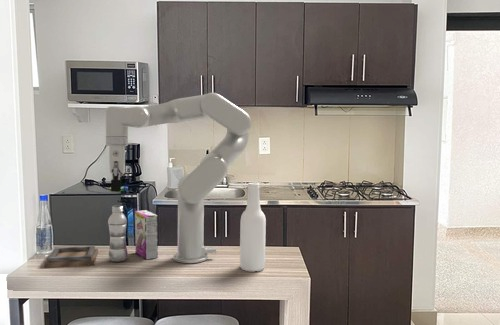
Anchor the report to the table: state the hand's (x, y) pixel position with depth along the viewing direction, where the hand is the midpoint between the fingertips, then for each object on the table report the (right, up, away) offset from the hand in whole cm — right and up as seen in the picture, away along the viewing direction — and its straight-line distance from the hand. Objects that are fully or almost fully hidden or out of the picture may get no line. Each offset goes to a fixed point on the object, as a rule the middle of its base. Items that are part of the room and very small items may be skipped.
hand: (116, 189), depth 164 cm
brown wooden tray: (-17, -26, +2) cm, 31 cm away
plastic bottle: (0, -26, +2) cm, 26 cm away
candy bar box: (+8, -26, +9) cm, 29 cm away
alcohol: (+49, -28, -3) cm, 56 cm away
